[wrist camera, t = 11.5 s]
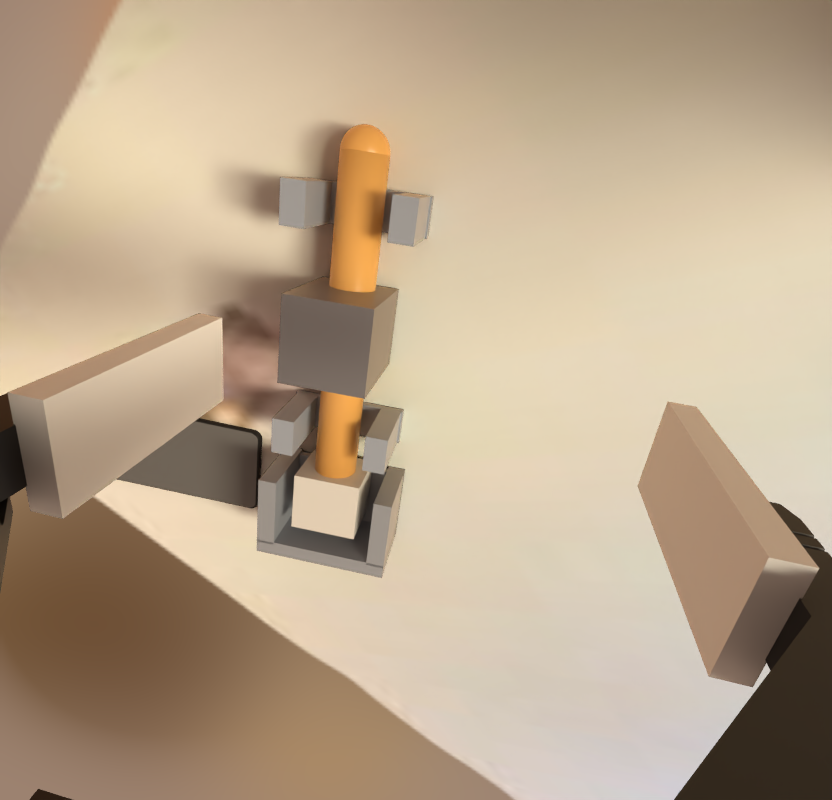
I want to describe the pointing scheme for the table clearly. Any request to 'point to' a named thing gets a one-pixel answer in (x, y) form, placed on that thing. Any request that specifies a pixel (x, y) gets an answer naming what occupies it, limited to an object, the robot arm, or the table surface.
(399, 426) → the clip
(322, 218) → the clip
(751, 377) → the table surface
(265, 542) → the end holder
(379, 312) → the orange rod with blocks
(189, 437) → the smartphone
